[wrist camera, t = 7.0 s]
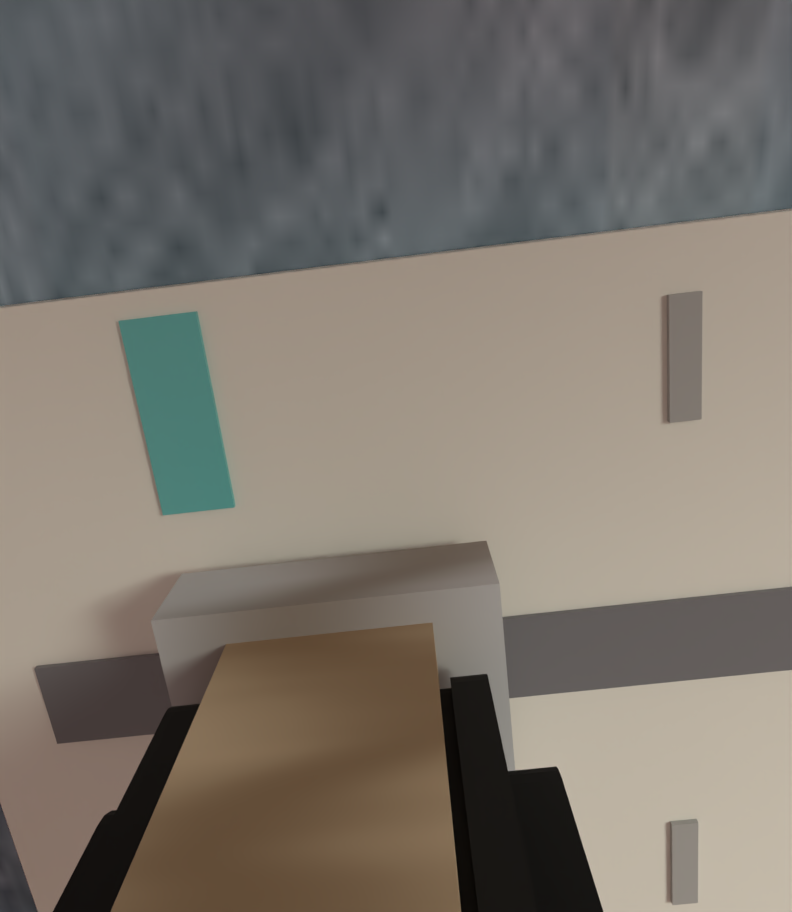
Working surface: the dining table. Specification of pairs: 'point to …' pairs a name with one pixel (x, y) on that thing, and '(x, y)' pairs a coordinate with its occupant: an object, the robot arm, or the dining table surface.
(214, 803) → the fader
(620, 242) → the console
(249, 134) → the dining table surface
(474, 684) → the robot arm
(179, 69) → the dining table surface
